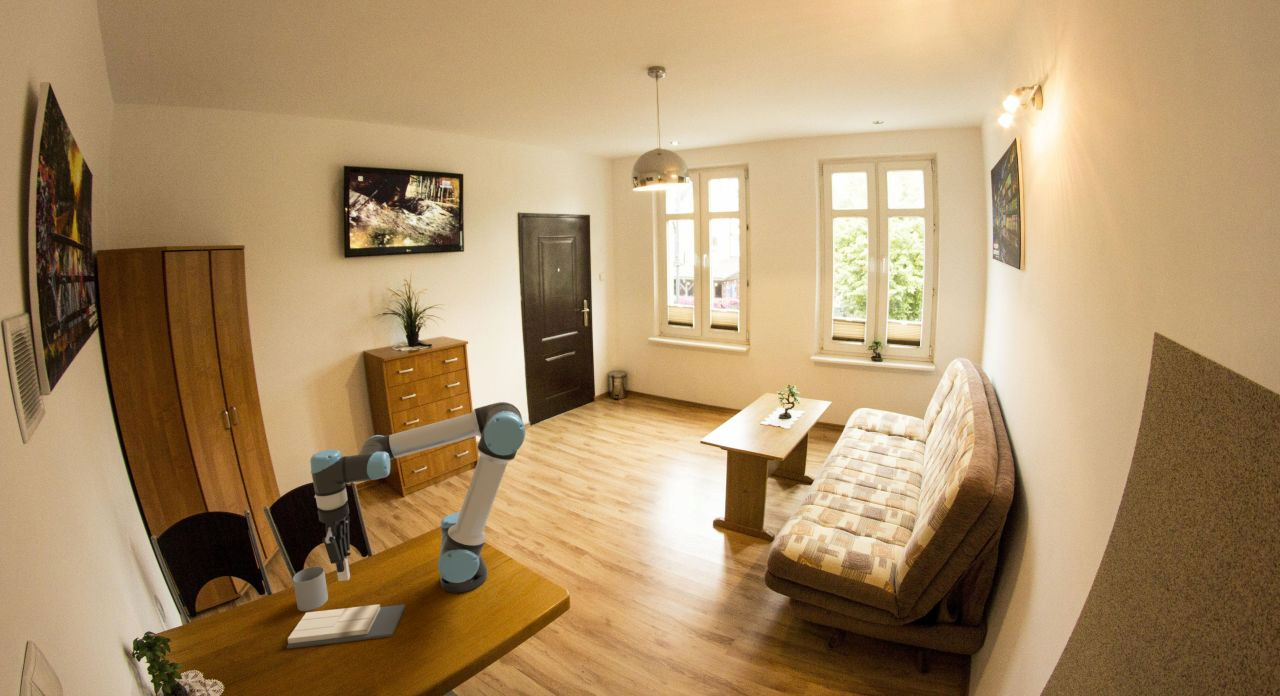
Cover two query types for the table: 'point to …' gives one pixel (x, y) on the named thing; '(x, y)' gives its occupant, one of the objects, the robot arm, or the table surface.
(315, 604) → the cup
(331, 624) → the floor section
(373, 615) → the loose plank
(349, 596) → the table surface
